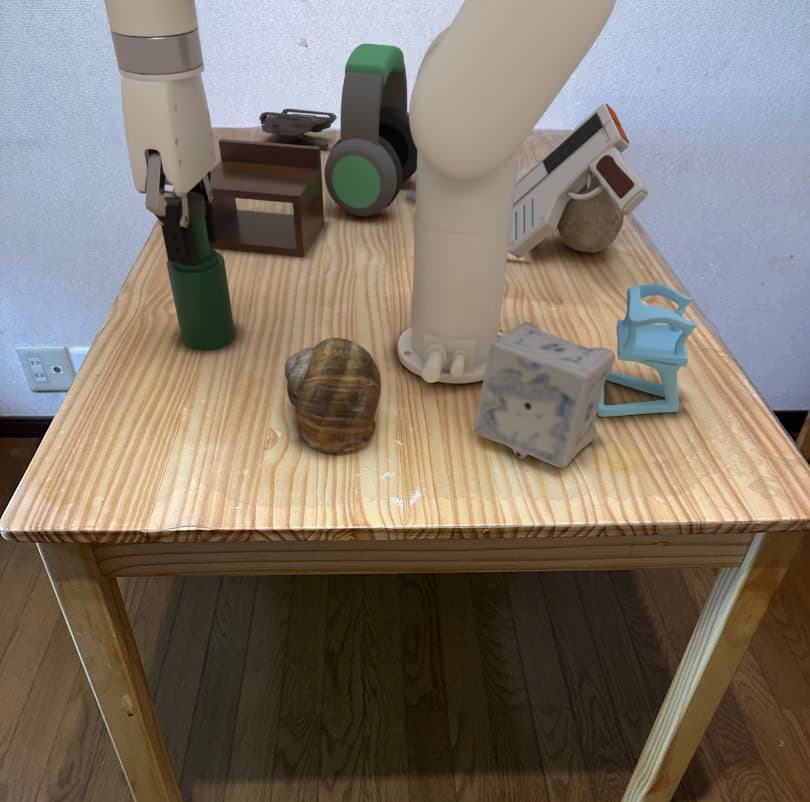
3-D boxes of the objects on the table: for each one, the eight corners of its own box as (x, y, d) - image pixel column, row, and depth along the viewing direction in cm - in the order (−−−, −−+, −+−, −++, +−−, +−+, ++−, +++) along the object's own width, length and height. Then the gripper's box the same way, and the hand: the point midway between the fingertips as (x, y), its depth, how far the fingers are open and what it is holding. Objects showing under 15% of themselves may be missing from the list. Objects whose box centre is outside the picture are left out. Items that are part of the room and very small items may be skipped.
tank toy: (310, 117, 129) (312, 152, 132) (341, 111, 136) (342, 145, 139) (252, 112, 133) (255, 146, 136) (284, 107, 140) (286, 139, 143)
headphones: (361, 172, 127) (358, 28, 113) (426, 180, 125) (431, 34, 111) (321, 216, 114) (312, 60, 100) (393, 226, 112) (394, 67, 98)
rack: (303, 257, 105) (297, 175, 98) (204, 247, 107) (191, 166, 99) (324, 224, 113) (320, 146, 105) (231, 215, 114) (220, 138, 107)
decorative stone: (547, 233, 111) (558, 159, 104) (606, 234, 111) (621, 160, 104) (557, 265, 104) (569, 188, 97) (620, 266, 104) (637, 189, 97)
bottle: (224, 353, 87) (202, 212, 76) (173, 347, 88) (144, 207, 77) (242, 326, 91) (223, 190, 81) (193, 321, 92) (168, 185, 81)
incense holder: (598, 435, 77) (621, 341, 70) (562, 479, 72) (582, 383, 65) (510, 402, 81) (523, 310, 74) (470, 442, 76) (479, 347, 69)
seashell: (292, 389, 82) (285, 319, 77) (381, 389, 82) (381, 320, 77) (282, 455, 74) (273, 383, 69) (380, 455, 74) (380, 383, 69)
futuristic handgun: (525, 299, 104) (494, 215, 110) (656, 198, 92) (614, 108, 98) (513, 293, 102) (482, 207, 108) (645, 188, 91) (603, 97, 96)
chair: (679, 425, 79) (714, 316, 70) (596, 416, 80) (621, 307, 71) (674, 384, 84) (706, 278, 76) (596, 375, 85) (618, 270, 77)
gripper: (157, 28, 76) (189, 216, 89) (74, 74, 64) (125, 283, 77) (231, 33, 75) (253, 222, 88) (161, 80, 63) (198, 291, 76)
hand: (193, 249), depth 82 cm, fingers open, 4 cm apart
